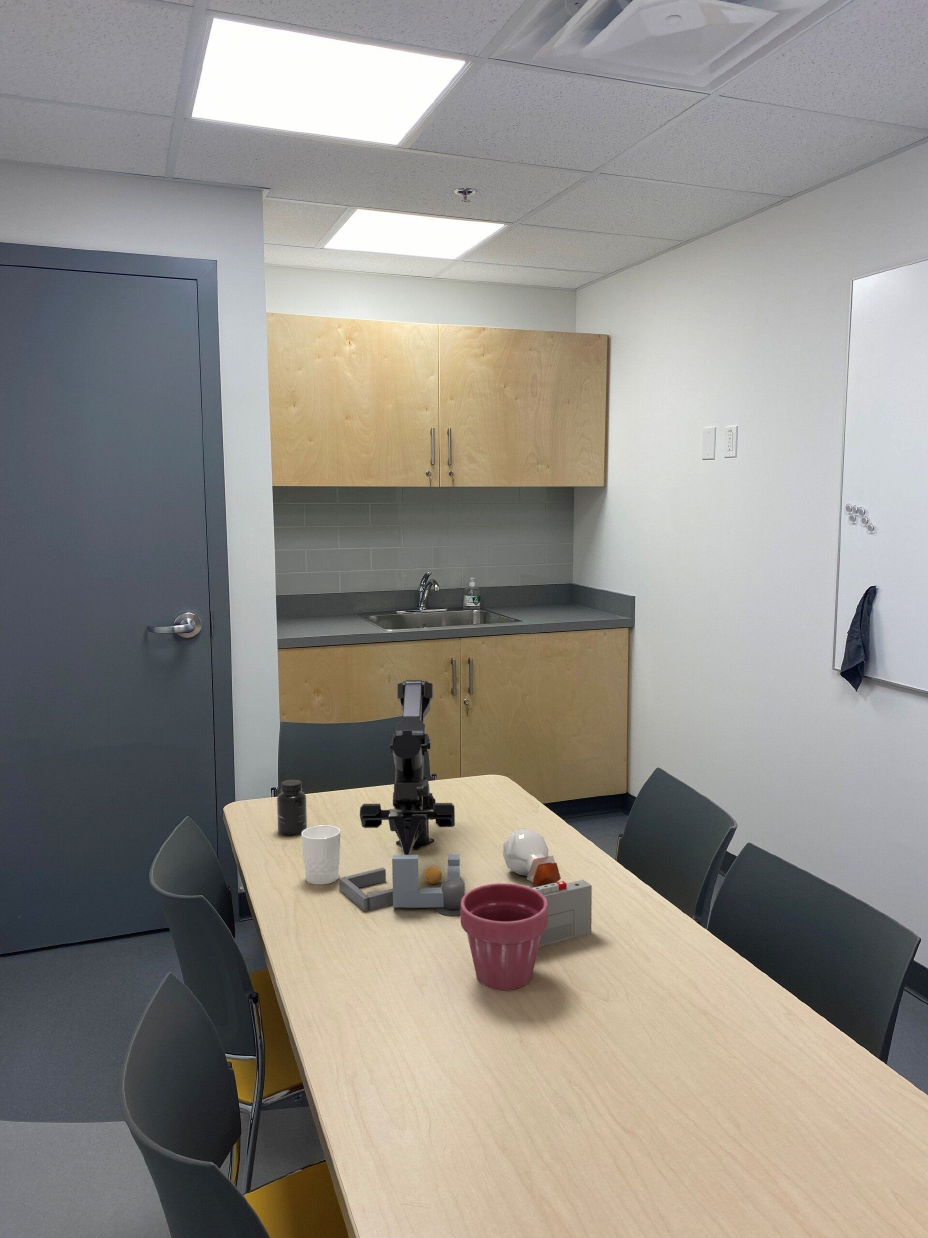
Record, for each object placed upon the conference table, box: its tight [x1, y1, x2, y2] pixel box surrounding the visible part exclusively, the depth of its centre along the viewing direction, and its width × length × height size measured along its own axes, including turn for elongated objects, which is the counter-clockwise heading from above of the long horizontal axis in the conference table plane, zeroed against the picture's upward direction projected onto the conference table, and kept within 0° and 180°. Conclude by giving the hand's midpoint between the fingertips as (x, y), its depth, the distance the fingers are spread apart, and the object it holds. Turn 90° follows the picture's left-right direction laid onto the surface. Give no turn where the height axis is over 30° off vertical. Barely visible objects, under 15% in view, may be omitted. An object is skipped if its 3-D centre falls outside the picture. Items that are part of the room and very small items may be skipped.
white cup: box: [301, 824, 341, 886], centre depth 183 cm, size 8×8×10 cm
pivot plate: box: [434, 907, 461, 917], centre depth 169 cm, size 7×7×1 cm
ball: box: [424, 865, 443, 885], centre depth 180 cm, size 4×4×4 cm
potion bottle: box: [502, 828, 562, 887], centre depth 182 cm, size 9×10×15 cm
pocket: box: [338, 867, 393, 912], centre depth 175 cm, size 10×11×2 cm
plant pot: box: [460, 882, 548, 991], centre depth 144 cm, size 14×14×13 cm
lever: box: [391, 853, 466, 909], centre depth 175 cm, size 17×14×10 cm
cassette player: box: [531, 879, 593, 947], centre depth 156 cm, size 16×3×10 cm, turn 116°
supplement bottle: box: [276, 779, 308, 837], centre depth 210 cm, size 7×7×12 cm
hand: (406, 856), depth 172 cm, fingers closed
